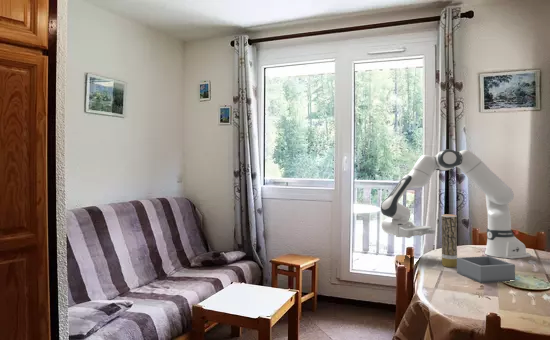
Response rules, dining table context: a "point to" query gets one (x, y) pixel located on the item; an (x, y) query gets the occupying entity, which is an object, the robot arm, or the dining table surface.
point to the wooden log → (449, 240)
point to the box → (485, 269)
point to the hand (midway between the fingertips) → (428, 233)
